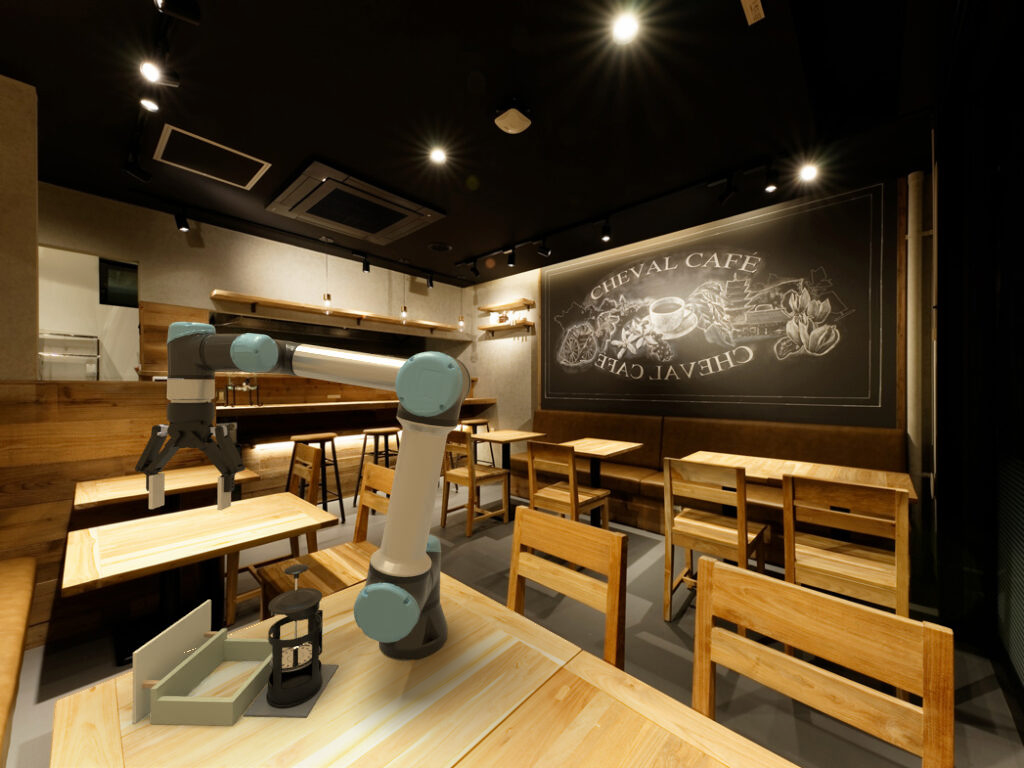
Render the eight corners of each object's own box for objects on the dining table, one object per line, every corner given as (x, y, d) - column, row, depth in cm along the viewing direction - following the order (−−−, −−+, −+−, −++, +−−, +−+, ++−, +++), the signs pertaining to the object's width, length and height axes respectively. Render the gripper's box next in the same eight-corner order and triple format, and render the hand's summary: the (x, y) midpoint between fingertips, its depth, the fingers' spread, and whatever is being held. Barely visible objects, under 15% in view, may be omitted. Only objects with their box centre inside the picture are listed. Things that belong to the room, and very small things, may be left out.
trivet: (338, 666, 84) (338, 664, 84) (306, 717, 71) (306, 716, 71) (285, 664, 84) (285, 663, 84) (243, 716, 71) (243, 714, 71)
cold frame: (288, 658, 86) (288, 601, 86) (232, 725, 70) (233, 655, 69) (207, 656, 87) (208, 599, 87) (132, 723, 70) (132, 652, 70)
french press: (295, 716, 71) (296, 583, 71) (250, 705, 73) (251, 577, 73) (338, 670, 83) (340, 556, 83) (298, 662, 85) (300, 551, 85)
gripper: (265, 401, 86) (264, 503, 86) (146, 399, 86) (145, 501, 86) (241, 402, 78) (239, 514, 78) (110, 400, 78) (109, 512, 78)
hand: (190, 507), depth 82 cm, fingers open, 13 cm apart
